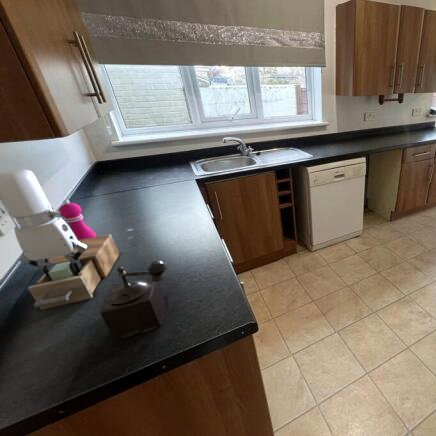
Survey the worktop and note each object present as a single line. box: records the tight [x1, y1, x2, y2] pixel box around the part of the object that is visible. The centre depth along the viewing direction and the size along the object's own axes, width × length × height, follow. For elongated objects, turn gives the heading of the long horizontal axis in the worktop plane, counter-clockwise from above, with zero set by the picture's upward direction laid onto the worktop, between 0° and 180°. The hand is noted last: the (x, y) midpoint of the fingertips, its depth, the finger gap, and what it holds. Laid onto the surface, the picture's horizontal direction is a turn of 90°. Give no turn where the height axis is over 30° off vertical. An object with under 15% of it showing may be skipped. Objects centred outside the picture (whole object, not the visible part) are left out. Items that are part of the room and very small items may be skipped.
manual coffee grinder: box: [99, 260, 167, 341], centre depth 67 cm, size 16×11×18 cm
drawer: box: [27, 258, 103, 310], centre depth 77 cm, size 18×11×8 cm, turn 21°
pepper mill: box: [58, 199, 97, 240], centre depth 101 cm, size 7×7×20 cm
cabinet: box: [49, 234, 120, 279], centre depth 88 cm, size 15×13×10 cm
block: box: [48, 262, 79, 281], centre depth 77 cm, size 4×4×4 cm
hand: (66, 274), depth 77 cm, fingers open, 4 cm apart
